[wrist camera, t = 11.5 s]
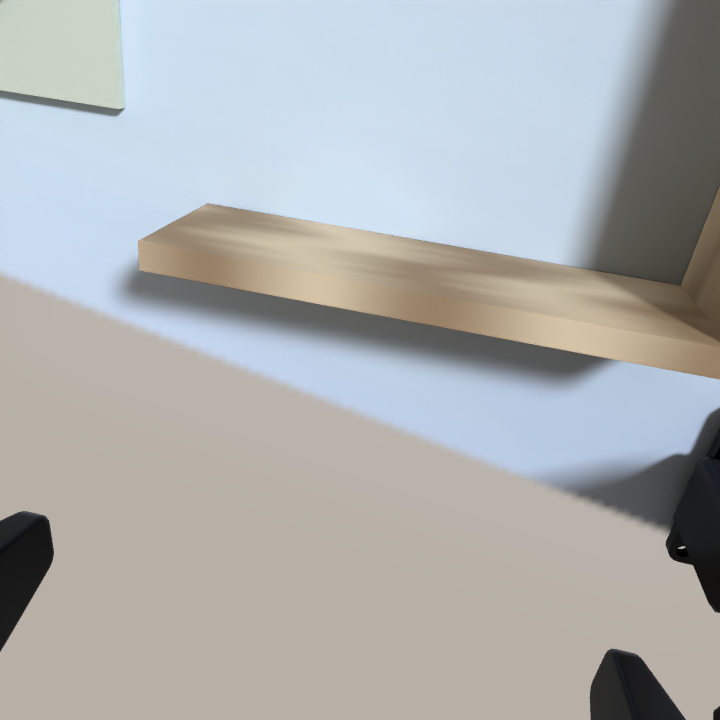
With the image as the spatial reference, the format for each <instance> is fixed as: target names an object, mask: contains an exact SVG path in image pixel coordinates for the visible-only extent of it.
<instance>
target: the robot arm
mask: <svg viewBox="0 0 720 720" xmlns="http://www.w3.org/2000/svg"><path fill="white" fill-rule="evenodd" d="M674 520H675V524H674V526H673V528H672V530H671V532H670V534H669V536H668V538H667V540H666V547H667V550H668V553H669V555H670V557H671V558H672V559H673V560H675V561H678V562H682V563H686V564H691V565H693V566H694V569H695V571H696V573H697V576H698V578H699V581H700V583H701V586H702V588H703V591H704V593H705V595H706V598H707V600H708V602H709V604H710V605H711V607H712V608H713V610H714V611H715V612H718V613H720V430H719V432H718V435H717V437H716V439H715V441H714V443H713V445H712V447H711V449H710V451H709V453H708V455H707V457H705V458H703V459H702V460H701V461H699V463H698V465H697V467H696V469H695V471H694V473H693V475H692V477H691V480H690V482H689V484H688V486H687V488H686V490H685V492H684V494H683V496H682V498H681V501H680V503H679V505H678V507H677V509H676V511H675V513H674ZM681 546H685V547H686V548H684V549H678V548H679V547H681ZM53 555H54V550H53V543H52V537H51V530H50V523H49V520H48V519H47V517H46V516H44V515H40V514H36V513H31V512H26V511H23V512H18V513H16V514H14V515H12V516H9V517H7V518H5V519H3V520H1V521H0V651H1V650H2V648H3V646H4V645H5V643H6V642H7V640H8V638H9V636H10V635H11V633H12V631H13V630H14V628H15V626H16V624H17V623H18V621H19V619H20V618H21V616H22V614H23V612H24V611H25V609H26V607H27V606H28V604H29V602H30V600H31V599H32V597H33V595H34V593H35V592H36V590H37V588H38V587H39V585H40V583H41V581H42V580H43V578H44V576H45V575H46V573H47V571H48V569H49V568H50V566H51V563H52V560H53ZM590 712H591V720H686V719H685V718H684V716H683V715H682V714H681V712H680V711H679V710H678V708H677V707H676V705H675V704H674V703H673V701H672V700H671V699H670V697H669V696H668V694H667V693H666V692H665V690H664V689H663V688H662V686H661V685H660V683H659V682H658V681H657V679H656V678H655V676H654V675H653V674H652V672H651V671H650V670H649V668H648V667H647V665H646V664H645V663H644V661H643V660H642V659H641V658H640V657H639V656H638V655H636V654H634V653H630V652H626V651H621V650H617V649H610V650H608V651H607V653H606V654H605V656H604V658H603V660H602V663H601V664H600V667H599V669H598V671H597V673H596V675H595V677H594V679H593V682H592V685H591V690H590ZM713 720H720V706H719V707H718V708H717V709H715V710H714V713H713Z"/></svg>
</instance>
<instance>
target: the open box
mask: <svg viewBox="0 0 720 720" xmlns="http://www.w3.org/2000/svg"><path fill="white" fill-rule="evenodd" d="M138 251H139V270H140V271H145V272H150V273H156V274H161V275H166V276H172V277H177V278H182V279H188V280H193V281H198V282H204V283H209V284H214V285H220V286H225V287H230V288H236V289H241V290H246V291H252V292H257V293H262V294H268V295H273V296H278V297H284V298H289V299H294V300H300V301H305V302H310V303H316V304H321V305H326V306H332V307H337V308H342V309H348V310H353V311H358V312H364V313H369V314H374V315H380V316H385V317H390V318H396V319H401V320H406V321H412V322H417V323H422V324H428V325H433V326H438V327H444V328H449V329H454V330H460V331H465V332H470V333H476V334H481V335H486V336H492V337H497V338H502V339H508V340H513V341H518V342H524V343H529V344H534V345H540V346H545V347H550V348H556V349H561V350H566V351H572V352H577V353H582V354H588V355H593V356H598V357H604V358H609V359H614V360H620V361H625V362H630V363H635V364H641V365H646V366H651V367H657V368H662V369H667V370H673V371H678V372H683V373H689V374H694V375H699V376H705V377H710V378H715V379H720V186H719V189H718V191H717V194H716V197H715V199H714V202H713V204H712V207H711V209H710V212H709V214H708V217H707V219H706V222H705V224H704V227H703V230H702V232H701V235H700V237H699V240H698V242H697V245H696V247H695V250H694V252H693V255H692V258H691V260H690V263H689V265H688V268H687V270H686V273H685V275H684V278H683V280H682V283H681V286H680V285H674V284H669V283H663V282H657V281H651V280H646V279H640V278H634V277H628V276H623V275H617V274H611V273H605V272H600V271H594V270H588V269H582V268H577V267H571V266H565V265H559V264H554V263H548V262H542V261H536V260H530V259H525V258H519V257H513V256H507V255H502V254H496V253H490V252H484V251H479V250H473V249H467V248H461V247H456V246H450V245H444V244H438V243H433V242H427V241H421V240H415V239H410V238H404V237H398V236H392V235H387V234H381V233H375V232H369V231H363V230H358V229H352V228H346V227H340V226H335V225H329V224H323V223H317V222H312V221H306V220H300V219H294V218H289V217H283V216H277V215H271V214H266V213H260V212H254V211H248V210H243V209H237V208H231V207H225V206H220V205H214V204H208V203H207V204H206V205H204V206H202V207H200V208H198V209H196V210H194V211H193V212H191V213H189V214H187V215H185V216H183V217H182V218H180V219H178V220H176V221H174V222H172V223H170V224H169V225H167V226H165V227H163V228H161V229H159V230H158V231H156V232H154V233H152V234H150V235H148V236H146V237H145V238H143V239H141V240H139V241H138Z"/></svg>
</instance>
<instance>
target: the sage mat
mask: <svg viewBox="0 0 720 720" xmlns="http://www.w3.org/2000/svg"><path fill="white" fill-rule="evenodd" d="M0 90H2V91H8V92H14V93H21V94H27V95H33V96H39V97H46V98H52V99H58V100H65V101H71V102H77V103H83V104H90V105H96V106H102V107H108V108H115V109H121V108H125V104H124V85H123V66H122V47H121V27H120V8H119V0H0Z"/></svg>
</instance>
